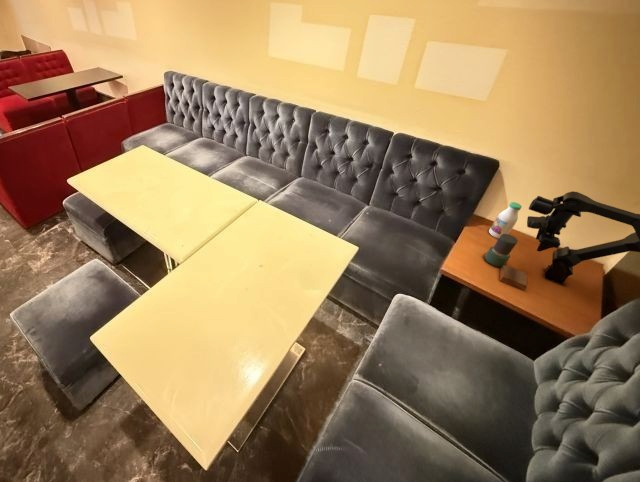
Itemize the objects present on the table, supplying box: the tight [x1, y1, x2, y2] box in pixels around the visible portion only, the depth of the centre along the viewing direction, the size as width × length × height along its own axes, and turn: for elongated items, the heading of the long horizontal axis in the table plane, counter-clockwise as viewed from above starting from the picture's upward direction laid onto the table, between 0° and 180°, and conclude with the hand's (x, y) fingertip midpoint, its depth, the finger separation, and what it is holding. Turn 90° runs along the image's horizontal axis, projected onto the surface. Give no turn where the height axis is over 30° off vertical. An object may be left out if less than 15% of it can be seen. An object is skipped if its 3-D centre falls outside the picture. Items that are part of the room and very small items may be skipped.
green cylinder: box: [483, 245, 511, 269], centre depth 148 cm, size 8×8×8 cm
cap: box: [493, 233, 518, 255], centre depth 144 cm, size 6×6×8 cm
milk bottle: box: [488, 201, 522, 239], centre depth 160 cm, size 8×8×20 cm
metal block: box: [499, 264, 528, 291], centre depth 140 cm, size 8×8×3 cm
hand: (537, 245), depth 141 cm, fingers open, 9 cm apart
